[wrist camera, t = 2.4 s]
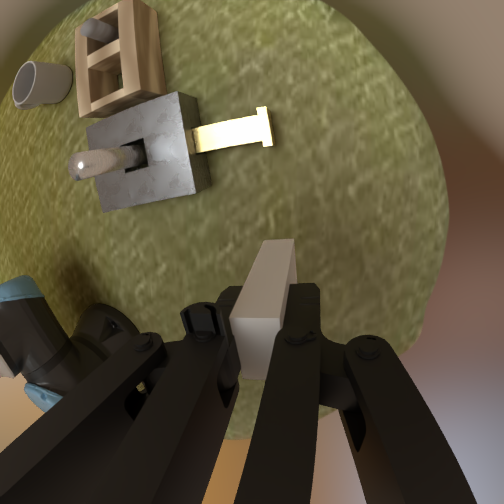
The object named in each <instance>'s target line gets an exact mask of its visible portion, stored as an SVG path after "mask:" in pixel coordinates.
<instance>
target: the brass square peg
mask: <svg viewBox="0 0 504 504" xmlns="http://www.w3.org/2000/svg"><path fill="white" fill-rule="evenodd" d="M257 113H258V115H256V116H250V117H245V118H240V119H234V120H229V121H225V122H220V123H215V124H211V125H206V126H202V127H198V128H194V129H191V130H192V136H193V141H194V147H195V152H196V154H197V153H202V152H207V151H212V150H217V149H222V148H227V147H232V146H238V145H243V144H249V143H255V142H262V141H263V147H264V146H273V145H276V143H275V137H274V131H273V125H272V120H271V114H270V110H269V109H268V108H267V107H260V108H257Z"/></svg>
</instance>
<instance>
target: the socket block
mask: <svg viewBox="0 0 504 504" xmlns="http://www.w3.org/2000/svg"><path fill="white" fill-rule="evenodd" d="M198 127H201V123H200V117H199V111H198V105H197V99H196V98H195V97H192V96H189V95H187V94H184V93H181V92H178V91H176V92H173V93H170V94H167V95H164V96H161V97H158V98H155V99H153V100H150V101H147V102H144V103H142V104H139V105H137V106H134V107H131V108H129V109H126V110H124V111H122V112H119V113H117V114H115V115H112V116H110V117H108V118H106V119H103V120H101V121H99V122H97V123H95V124H93V125H91V126H89V127H87V128H86V132H87V139H88V145H89V151H90V150H97V149H105V148H113V147H122V146H131V145H142V144H144V143H145V149H146V154H147V159H148V164H149V167H148V164H144V165H139V166H134V167H130V168H126V169H121V170H117V171H113V172H109V173H105V174H101V175H97V176H94V177H95V181H96V186H97V190H98V195H99V199H100V203H101V207H102V211H103V213H105V212H109V211H113V210H117V209H122V208H126V207H131V206H135V205H140V204H144V203H149V202H154V201H159V200H164V199H169V198H174V197H179V196H184V195H190V194H195V193H198V192H200V191H202V190H203V189H205V188H207V187H209V186H211V185H212V182H211V177H210V172H209V167H208V161H207V156H206V153H204V154H198V155H196V152H195V147H194V141H193V136H192V130H191V129H194V128H198Z"/></svg>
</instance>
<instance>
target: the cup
mask: <svg viewBox="0 0 504 504" xmlns="http://www.w3.org/2000/svg"><path fill="white" fill-rule="evenodd" d="M71 85H72V71H71V70H70V68H69V67H68V66H65V65H59V64H52V63H44V62H35V61H28V62H26V63H25V64H23V66H22V67H21V68H20V70H19V71H18V73H17V75H16V77H15V80H14V84H13V93H12V94H13V99H14V102H15V106H16V107H17V108H18V109H22V110H27V109H32V108H34V107H37V106H38V105H40V104H53V103H58V102H60V101H61V100H63V99H64V98H65V97H66V95H67V94H68V92H69V90H70V88H71Z"/></svg>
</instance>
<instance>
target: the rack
mask: <svg viewBox="0 0 504 504" xmlns="http://www.w3.org/2000/svg"><path fill="white" fill-rule="evenodd" d="M75 66H76V85H77V97H78V107H79V116H80V118H108V117H110V116H112V115H115V114H117V113H119V112H122V111H124V110H126V109H129V108H131V107H134V106H137V105H139V104H142V103H144V102H147V101H150V100H153V99H155V98H158V97H161V96H164V95H167V90H166V84H165V77H164V70H163V62H162V55H161V47H160V38H159V29H158V19H157V12H156V11H155V10H153V9H152V8H151V7H149V6H148V5H146V4H145V3H143V2H142V1H140V0H122V1H120V2H119V3H117V4H115V5H113V6H111V7H109V8H108V9H106V10H104V11H102V12H101V13H99V14H97V15H96V16H94V17H93V18H90V19H88V20H86V21H85V22H84V23H83V24H82V25H80V26H79V27H77V28H76V29H75ZM121 73H122V78H123V87H124V88H122V89H120V90H119V85H118V76H117V75H118V74H121Z"/></svg>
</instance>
